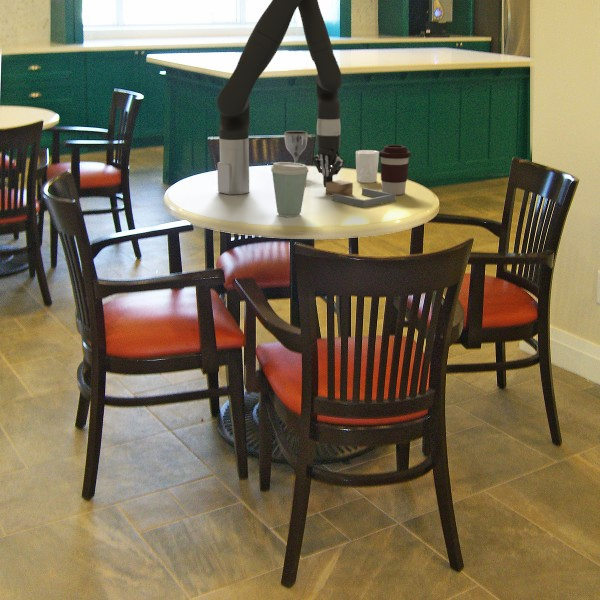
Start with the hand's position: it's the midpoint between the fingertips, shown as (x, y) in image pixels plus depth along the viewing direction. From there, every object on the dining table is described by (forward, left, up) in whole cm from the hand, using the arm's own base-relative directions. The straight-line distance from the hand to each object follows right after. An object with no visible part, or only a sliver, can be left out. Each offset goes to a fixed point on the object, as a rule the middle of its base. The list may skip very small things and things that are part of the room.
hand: (327, 187), depth 284 cm
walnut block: (0, -5, -2) cm, 5 cm away
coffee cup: (+15, -15, -2) cm, 21 cm away
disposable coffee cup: (-30, -16, -2) cm, 34 cm away
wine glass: (+12, +29, -2) cm, 31 cm away
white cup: (+23, +5, -2) cm, 23 cm away
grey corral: (0, -16, -2) cm, 16 cm away
